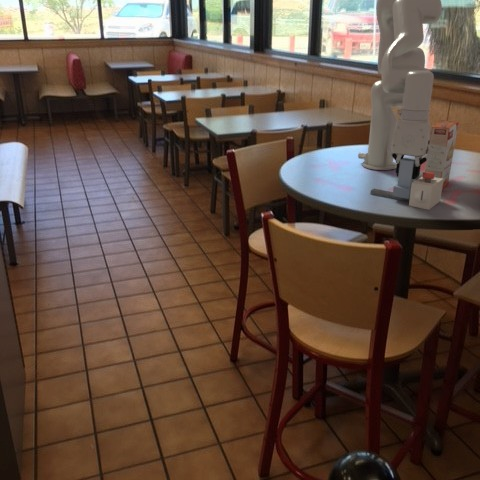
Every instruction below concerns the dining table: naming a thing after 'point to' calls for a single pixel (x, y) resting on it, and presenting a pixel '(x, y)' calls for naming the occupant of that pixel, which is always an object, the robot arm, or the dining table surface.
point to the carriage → (404, 178)
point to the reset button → (428, 176)
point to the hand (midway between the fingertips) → (407, 176)
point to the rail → (386, 194)
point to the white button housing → (425, 193)
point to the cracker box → (442, 149)
